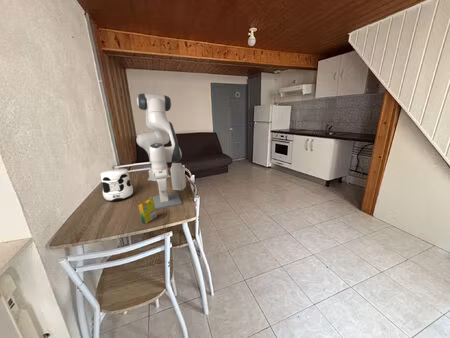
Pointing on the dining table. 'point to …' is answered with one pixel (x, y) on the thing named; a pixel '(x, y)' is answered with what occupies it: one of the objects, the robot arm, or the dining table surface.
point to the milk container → (116, 184)
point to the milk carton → (178, 176)
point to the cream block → (163, 198)
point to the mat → (172, 198)
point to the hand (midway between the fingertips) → (163, 193)
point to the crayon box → (147, 210)
